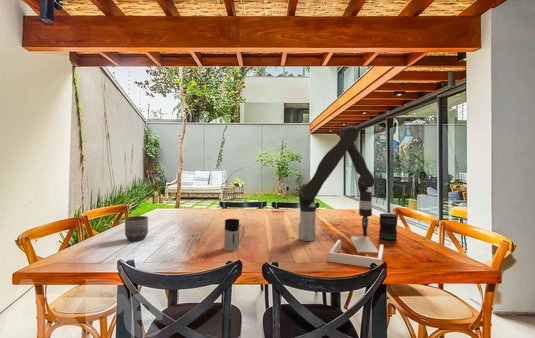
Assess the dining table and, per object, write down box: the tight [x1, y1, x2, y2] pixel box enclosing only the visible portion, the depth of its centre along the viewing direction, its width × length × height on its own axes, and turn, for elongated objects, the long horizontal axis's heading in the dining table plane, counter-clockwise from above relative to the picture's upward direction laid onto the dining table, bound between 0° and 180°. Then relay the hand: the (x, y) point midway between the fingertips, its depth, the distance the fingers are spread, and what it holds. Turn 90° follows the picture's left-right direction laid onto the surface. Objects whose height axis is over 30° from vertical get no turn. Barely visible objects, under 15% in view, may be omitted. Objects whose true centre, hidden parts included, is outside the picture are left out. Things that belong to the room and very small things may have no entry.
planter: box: [124, 215, 149, 242], centre depth 172 cm, size 12×12×13 cm
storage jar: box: [378, 213, 398, 243], centre depth 178 cm, size 10×10×15 cm
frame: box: [327, 239, 384, 268], centre depth 145 cm, size 23×26×4 cm
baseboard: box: [348, 234, 379, 255], centre depth 166 cm, size 31×3×12 cm
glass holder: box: [223, 218, 245, 252], centre depth 155 cm, size 9×14×15 cm, turn 45°
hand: (364, 235), depth 183 cm, fingers closed
